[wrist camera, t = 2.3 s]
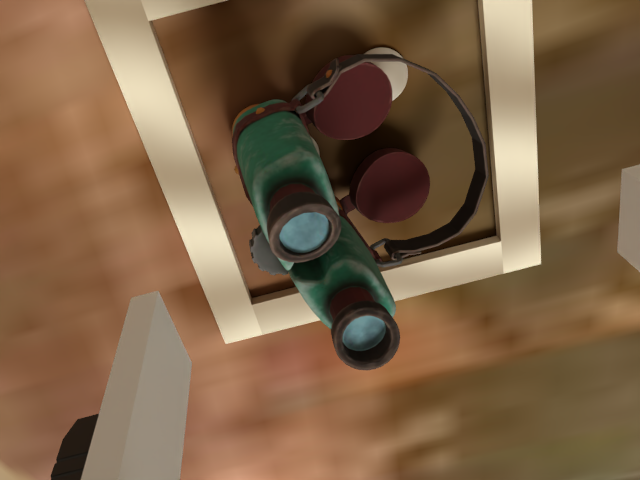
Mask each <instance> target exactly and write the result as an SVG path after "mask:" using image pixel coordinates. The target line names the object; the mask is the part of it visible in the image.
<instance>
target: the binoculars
mask: <svg viewBox="0 0 640 480" xmlns="http://www.w3.org/2000/svg"><path fill="white" fill-rule="evenodd" d="M371 62H402V63H405V64H407V65H409V66H412V67H414V68H416V69H419V70H421V71H423V72H426V73H428V74H429V75H430V76H431V77H432V78H433V79H434V80H435V81H436V82H437V83H438V84H439V85H440V86H441V87H442V88H443V89H444V90H445V91H446V92H447V93H448V95H449V96H450V98H451V99H452V101H453V102H454V103H455V105H456V106H457V108H458V109H459V111H460V112H461V114H462V117H463V119H464V121H465V123H466V125H467V128H468V130H469V132H470V134H471V136H472V142H473V151H474V160H475V172H474V175H473V178H472V181H471V184H470V187H469V190H468V193H467V196H466V200H465V203H464V204H463V206H462V207H461V208H460V210H459V211H458V212H457V214H456V215H455V216H454V217H453V219H452V220H451V221H450V223H448V224H446V225H444V226H442V227H441V228H439V229H437V230H435V231H433V232H431V233H429V234H426V235H422V236H419V237H415V238H411V239H408V240H391V241H390V240H389V239H386V238H384V239H382V240H380V241H378V242H376V243H374V244H372V245H371V246H370V247H369V246H368V244H367V243H366V241H365V240H364V239H363V237H362V236H361V235H360V233H359V232H358V230H357V229H356V228H355V226H354V225H353V223H352V222H351V221H350V219H349V218H348V217H347V213H348V212H350V211H351V210H353V209H355V208H356V209H357V210H358V211H359V212H360V213H361V214H362V215H363V216H365V217H367V218H368V219H370V220H373V221H376V222H382V223H394V222H399V221H403V220H405V219H408V218H410V217H411V216H413V215H414V214H415V213H417V212H418V211H419V209H420V208H421V207H422V206H423V204H424V203H425V201H426V199H427V196H428V193H429V188H430V179H429V175H428V171H427V169H426V167H425V166H424V164H423V163H422V162H421V161H420V160H419V159H418V158H417V157H415V156H413V155H412V154H410V153H408V152H406V151H403V150H400V149H397V148H384V149H380V150H378V151H375V152H373V153H372V154H370V155H369V156H368V157H367V158H366V159H365V160H364V161H363V162H362V163H361V164H360V166H359V167H358V168H357V170H356V172H355V174H354V176H353V178H352V181H351V185H350V192H349V195H347V196H345V197H344V198H342V199H341V200H340V201H339V199H338V198H337V197H336V196H335V195H334V193H333V190H332V187H331V184H330V181H329V178H328V175H327V172H326V170H325V168H324V165H323V163H322V160H321V158H320V156H319V154H318V152H317V150H316V148H315V146H314V143H313V141H312V139H311V137H310V134H309V131H308V128H307V125H308V124H310V123H313V125H314V126H315V127H316V128H317V129H318V130H319V131H320V132H321V133H323V134H324V135H326V136H327V137H331V138H334V139H340V140H351V139H357V138H361V137H364V136H366V135H368V134H370V133H371V132H373V131H374V130H376V129H377V128H378V127H379V126H380V125H381V124H382V123H383V121H384V120H385V118H386V117H387V115H388V113H389V110H390V108H391V103H392V86H391V82H390V80H389V78H388V76H387V75H386V74H385V73H384V71H383V70H382V69H380V68H379V67H377V66H376V65H374V64H373V63H371ZM306 94H307V96H306V101H305V105H304V106H302V104H301V103H300V102H299V100H300V99H301V98H303V97H304V96H305V95H306ZM295 110H296V111H297V112H296V111H295ZM232 146H233V155H234V159H235V162H236V166H235V172H236V173H237V174H239V175H240V178H241V181H242V184H243V188H244V191H245V194H246V197H247V198H248V200H249V201H250V203H251V204H252V206H253V207H254V210H255V213H256V216H257V218H258V221H259V223H260V226H259V227H258V228H257V229H254V230H253V232H252V239H251V240H250V241H249V246H250V251H251V256H252V259H253V261H254V263H257V264H258V267H259V269H260V270H262V271H267V272H269V273H270V274H271V275H276V274H282V275H286V274H288V272H289V274H290V277H291V279H292V280H293V282H294V284H295V285H296V287H297V289H298V291H299V292H300V294H301V296H302V297H303V299H304V300H305V302H306V303H307V305H308V306H309V307H310V309H311V310H312V311H313V312H314V313H315V315H316V316H317V317H318V318H319V319H320V320H321V321H322V322H323V323H324V324H325V325H326V326H327V327H329V328H330V329H331V335H332V339H333V343H334V347H335V350H336V352H337V355H338V356H339V358H340V359H341V360H342V361H343V362H344V363H345V364H346V365H348V366H350V367H352V368H355V369H358V370H372V369H376V368H379V367H381V366H383V365H384V364H386V363H388V362H389V361H390V360H391V359H392V358H393V356H394V355H395V353H396V351H397V349H398V346H399V342H400V333H399V329H398V326H397V324H396V322H395V321H394V319H393V316H394V314H395V311H396V306H395V302H394V299H393V297H392V294H391V292H390V290H389V288H388V286H387V284H386V282H385V280H384V278H383V276H382V274H381V272H380V270H379V268H378V266H379V267H389V266H394V265H399V264H401V263H402V261H403V258H404V257H406V256H408V255H415V254H421V250H425V249H428V248H432V247H436V246H439V245H441V244H442V243H444V242H446V241H448V240H450V239H452V238H453V237H455V236H457V235H459V234H460V233H461V232H462V231H463V230H464V228H465V227H466V226H467V224H468V223H469V222H470V221H471V219H472V218H473V217H474V216H475V214H476V212H477V209H478V207H479V204H480V201H481V198H482V195H483V192H484V189H485V186H486V183H487V180H488V177H489V175H488V165H487V156H486V146H485V142H484V139H483V137H482V135H481V133H480V131H479V128H478V126H477V124H476V122H475V119H474V117H473V116H472V114H471V113H470V111H469V110H468V108H467V107H466V105H465V104H464V102H463V101H462V99H461V98H460V96H459V95H458V94H457V93H456V92H455V91H454V90H453V89H452V88H451V87H450V86H449V85H448V84H447V83H446V82H445V81H444V80H443V79H442V78H441V77H439V76H438V75H437V74H436V73H434V72H432V71H430V70H429V69H426V68H424V67H422V66H419V65H417V64H415V63H412V62H410V61H408V60H405V59H403V58H401V57H398V56H396V55H394V54H357V55H346V56H341V57H338V58H336V59H334V60H332V61H331V62H329V63H328V64H326V65H325V66H324V67H323V68H322V69H321V70H320V71H319V73H318V74H317V76H316V77H315V78H314V80H313V82H312V83H311V84H308V85H307V86H306V87H305V88H304V89H302V90H301V91H300V92H299V93H298V94H297V95H296V96H295V97H294V98H293V99H292V101H291V102H290V103H287V102H285V101H283V100H279V99H274V100H270V101H267V102H264V103H261V104H255V105H251V106H249V107H247V108H245V109H243V110H242V111H241V112H240V113H239V114H238V115H237V117H236V118H235V120H234V123H233V126H232ZM384 243H385V245H384V248H385V249H386V251H387V252H388V254H389V255H390V257H391V258H392V259H393V261H388V262H382V260H381V258H380V256H379V255H378V253H377V251H375V250H374V249H375V248H377V247H379V246H381V245H383V244H384Z"/></svg>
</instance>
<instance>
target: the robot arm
mask: <svg viewBox="0 0 640 480" xmlns="http://www.w3.org/2000/svg"><path fill="white" fill-rule="evenodd" d="M617 252H618V253H619V254H620V255H621V256H622V257H624V258H625V259H626V260H627V261H628V262H629V263H630V264H631V265H632V266H634V267H635V268H636V269H637V270H638V271H639V272H640V165H636V166H633V167H629V168H625V169H622V178H621V196H620V215H619V233H618V251H617ZM191 367H192V362H191V360H190V358H189V356H188V353H187V351H186V349H185V347H184V345H183V343H182V341H181V338H180V336H179V334H178V332H177V330H176V328H175V326H174V323H173V321H172V319H171V317H170V315H169V313H168V311H167V309H166V306H165V304H164V302H163V300H162V298H161V296H160V294H159V291H155V292H151V293H148V294H144V295H140V296H136V297H132V298H131V301H130V304H129V308H128V311H127V315H126V319H125V322H124V326H123V329H122V333H121V337H120V340H119V344H118V347H117V351H116V355H115V358H114V362H113V365H112V369H111V373H110V376H109V380H108V383H107V387H106V391H105V394H104V398H103V401H102V405H101V409H100V412H99V414H96V415H93V416H89V417H85V418H81V419H77V421H76V422H75V424H74V425H73V426H72V428H71V429H70V430H69V432H68V433H67V435H66V436H65V437H64V439H63V441H62V444H61V447H60V450H59V453H58V456H57V459H56V460H57V463H56V464H55V465H54V468H53V471H52V474H51V480H180V473H181V464H182V454H183V445H184V435H185V425H186V416H187V406H188V396H189V387H190V377H191Z"/></svg>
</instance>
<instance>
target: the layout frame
mask: <svg viewBox="0 0 640 480" xmlns="http://www.w3.org/2000/svg"><path fill="white" fill-rule="evenodd" d="M84 1H85V3H86V6H87V8H88V10H89V13H90V15H91V18H92V20H93V23H94V25H95V27H96V30H97V32H98V35H99V37H100V40H101V42H102V44H103V47H104V49H105V52H106V54H107V57H108V59H109V61H110V64H111V66H112V69H113V71H114V74H115V76H116V78H117V81H118V83H119V86H120V88H121V91H122V93H123V95H124V98H125V100H126V103H127V105H128V108H129V110H130V112H131V115H132V117H133V120H134V122H135V125H136V127H137V130H138V132H139V134H140V137H141V139H142V142H143V144H144V147H145V149H146V151H147V154H148V156H149V159H150V161H151V164H152V166H153V168H154V171H155V173H156V176H157V178H158V181H159V183H160V185H161V188H162V190H163V193H164V195H165V198H166V200H167V202H168V205H169V207H170V210H171V212H172V215H173V217H174V219H175V222H176V224H177V227H178V229H179V232H180V234H181V236H182V239H183V241H184V244H185V246H186V249H187V251H188V253H189V256H190V258H191V261H192V263H193V266H194V268H195V271H196V273H197V275H198V278H199V280H200V283H201V285H202V288H203V290H204V292H205V295H206V297H207V300H208V302H209V305H210V307H211V309H212V312H213V314H214V317H215V319H216V322H217V324H218V326H219V329H220V331H221V334H222V336H223V339H224V341H225V343H226V344H228V343H232V342H236V341H240V340H244V339H247V338H251V337H255V336H259V335H263V334H267V333H271V332H275V331H279V330H283V329H287V328H291V327H295V326H299V325H303V324H306V323H310V322H314V321H318V320H320V319H319V318H318V317H317V316H316V315H315V313H314V312H313V311H312V310H311V309H310V307H309V306H308V305H307V303H306V302H305V300H304V299H303V297H302V296H301V294H300V292H299V291H298V289H297V287H294V288H290V289H286V290H282V291H278V292H274V293H270V294H266V295H262V296H258V297H254V298H251V295H250V292H249V289H248V287H247V284H246V281H245V278H244V276H243V273H242V270H241V267H240V265H239V262H238V259H237V256H236V253H235V251H234V248H233V245H232V242H231V240H230V237H229V234H228V231H227V229H226V226H225V223H224V220H223V217H222V215H221V212H220V209H219V206H218V204H217V201H216V198H215V195H214V193H213V190H212V187H211V184H210V181H209V179H208V176H207V173H206V170H205V168H204V165H203V162H202V159H201V157H200V154H199V151H198V148H197V145H196V143H195V140H194V137H193V134H192V132H191V129H190V126H189V123H188V121H187V118H186V115H185V112H184V109H183V107H182V104H181V101H180V98H179V96H178V93H177V90H176V87H175V85H174V82H173V79H172V76H171V73H170V71H169V68H168V65H167V62H166V60H165V57H164V54H163V51H162V49H161V46H160V43H159V40H158V37H157V35H156V32H155V29H154V26H153V24H152V21H151V20H155V19H159V18H163V17H166V16H170V15H174V14H178V13H182V12H185V11H189V10H193V9H197V8H200V7H204V6H208V5H212V4H216V3H219V2H223V1H227V0H84ZM478 10H479V23H480V35H481V47H482V60H483V72H484V85H485V97H486V109H487V122H488V134H489V147H490V159H491V172H492V184H493V196H494V209H495V221H496V234H497V236H493V237H489V238H485V239H482V240H478V241H474V242H470V243H466V244H462V245H458V246H454V247H450V248H446V249H442V250H438V251H435V252H431V253H427V254H423V255H419V256H415V257H411V258H407V259H403V261H402V263H401V264H399V265H394V266H389V267H379V266H378V268H379V270H380V272H381V274H382V276H383V278H384V280H385V282H386V284H387V286H388V288H389V290H390V292H391V294H392V297H393V299H394V301H397V300H401V299H405V298H409V297H413V296H417V295H421V294H425V293H429V292H432V291H436V290H440V289H444V288H448V287H452V286H456V285H460V284H464V283H468V282H472V281H476V280H480V279H484V278H488V277H491V276H495V275H499V274H503V273H507V272H511V271H515V270H519V269H523V268H527V267H531V266H535V265H539V264H541V249H540V220H539V192H538V163H537V135H536V106H535V78H534V49H533V21H532V0H478ZM365 54H394V55H396V56H398V57H401V58H402V56H401V55H400V54H399V53H397V52H396V51H394V50H392V49H390V48H384V47H379V48H374V49H371V50H369V51H367V52H366V53H365ZM371 63H373V64H374V65H376V66H377V67H379V68H380V69H382V70H383V71H384V73H385V74H386V75H387V76H388V78H389V80H390V82H391V86H392V100H394V99H395V98H397V97H398V96H399V95H400V94H401V92H402V91H403V89H404V88H405V85H406V83H407V78H408V69H407V65H406V64H405V63H402V62H371ZM310 137H311V136H310ZM311 139H312V141H313V143H314V146H315V148H316V150H317V152H318V154H319V156H320V153H319V148H318V145H317V143H316V141H315V140H314V139H313V138H312V137H311Z"/></svg>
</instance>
